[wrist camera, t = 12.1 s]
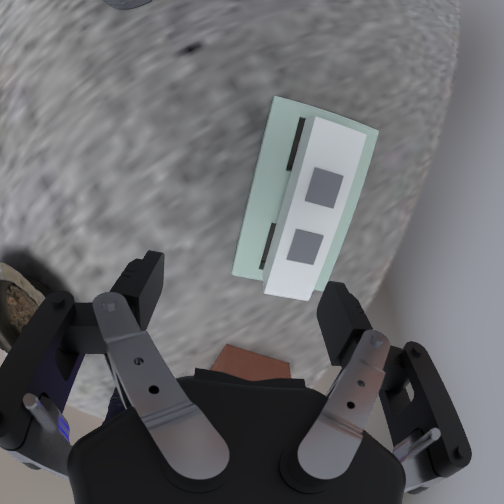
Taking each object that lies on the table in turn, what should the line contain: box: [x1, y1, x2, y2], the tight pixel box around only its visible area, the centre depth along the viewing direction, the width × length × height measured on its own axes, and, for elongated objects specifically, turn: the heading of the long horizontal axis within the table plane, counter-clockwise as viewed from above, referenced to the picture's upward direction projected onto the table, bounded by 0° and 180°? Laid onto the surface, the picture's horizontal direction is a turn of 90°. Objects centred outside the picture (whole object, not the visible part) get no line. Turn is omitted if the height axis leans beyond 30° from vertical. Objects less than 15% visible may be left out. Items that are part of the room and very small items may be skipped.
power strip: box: [262, 116, 367, 301], centre depth 28 cm, size 18×5×7 cm, turn 167°
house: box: [210, 344, 291, 381], centre depth 41 cm, size 12×20×12 cm, turn 154°
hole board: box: [232, 96, 379, 291], centre depth 30 cm, size 21×12×2 cm, turn 167°
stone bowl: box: [0, 262, 51, 353], centre depth 35 cm, size 25×25×9 cm
